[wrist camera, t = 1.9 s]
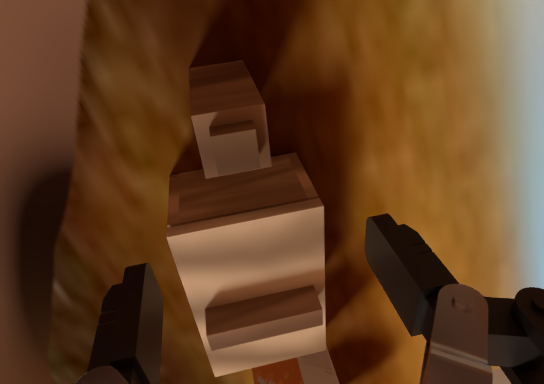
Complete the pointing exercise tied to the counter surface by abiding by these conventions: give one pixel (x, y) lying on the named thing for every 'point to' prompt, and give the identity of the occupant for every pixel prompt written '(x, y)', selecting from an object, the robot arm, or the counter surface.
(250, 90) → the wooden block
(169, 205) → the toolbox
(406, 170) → the counter surface
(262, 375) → the small box
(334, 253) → the counter surface
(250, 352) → the lid
